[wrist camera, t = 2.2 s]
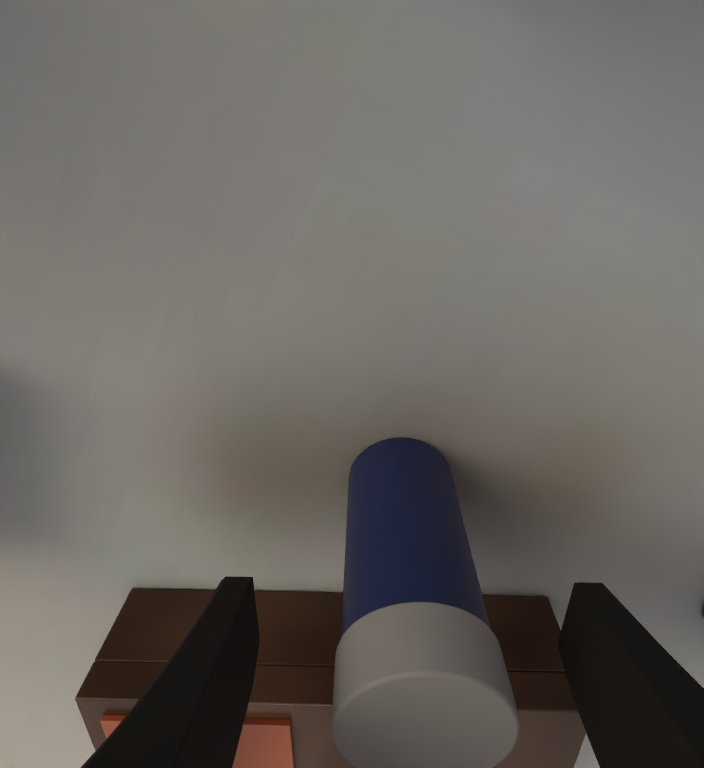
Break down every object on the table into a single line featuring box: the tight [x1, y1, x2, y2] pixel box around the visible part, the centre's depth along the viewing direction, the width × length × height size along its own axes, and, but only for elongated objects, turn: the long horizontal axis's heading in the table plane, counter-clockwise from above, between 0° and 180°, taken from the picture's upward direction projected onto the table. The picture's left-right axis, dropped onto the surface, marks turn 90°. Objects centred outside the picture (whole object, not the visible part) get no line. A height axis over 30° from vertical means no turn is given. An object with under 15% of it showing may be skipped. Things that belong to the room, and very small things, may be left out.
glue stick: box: [331, 438, 520, 768], centre depth 12 cm, size 3×3×8 cm
